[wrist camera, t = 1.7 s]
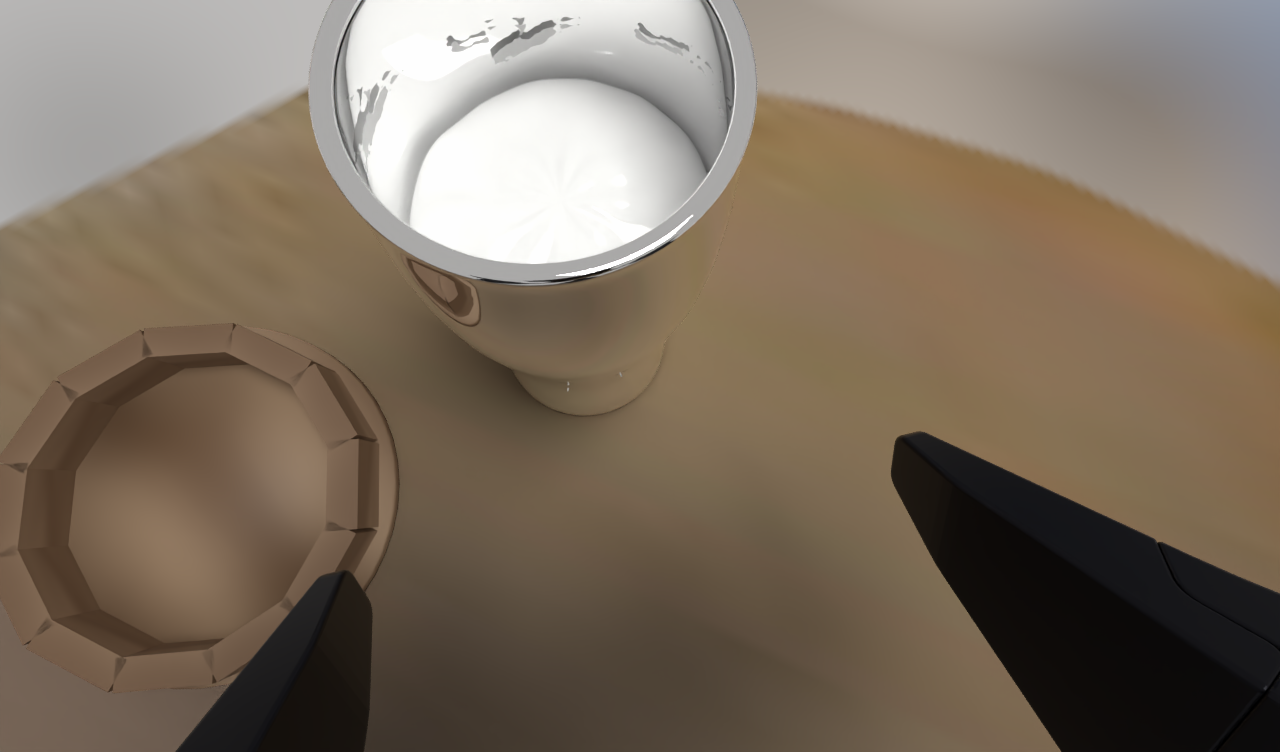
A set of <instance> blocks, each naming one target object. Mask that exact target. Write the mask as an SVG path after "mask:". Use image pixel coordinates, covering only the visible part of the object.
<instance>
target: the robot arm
mask: <svg viewBox="0 0 1280 752" xmlns="http://www.w3.org/2000/svg"><path fill="white" fill-rule="evenodd" d="M891 477H892V481H893V484H894V486H895V488H896V490H897V492H898V494H899V496H900V498H901V500H902V502H903V504H904V506H905V507H906V509H907V511H908V513H909V515H910V517H911V519H912V521H913V523H914V525H915V526H916V528H917V530H918V532H919V534H920V536H921V538H922V540H923V542H924V544H925V545H926V547H927V549H928V551H929V553H930V555H931V556H932V558H933V560H934V562H935V564H936V565H937V567H938V568H939V570H940V571H941V573H942V575H943V576H944V578H945V579H946V581H947V582H948V584H949V585H950V587H951V588H952V590H953V591H954V593H955V594H956V596H957V597H958V599H959V600H960V602H961V603H962V604H963V606H964V607H965V609H966V610H967V612H968V613H969V615H970V616H971V618H972V619H973V621H974V622H975V624H976V625H977V627H978V628H979V630H980V631H981V633H982V634H983V636H984V637H985V639H986V640H987V642H988V643H989V645H990V646H991V648H992V649H993V651H994V652H995V654H996V655H997V657H998V658H999V660H1000V661H1001V663H1002V664H1003V665H1004V667H1005V668H1006V670H1007V671H1008V673H1009V674H1010V676H1011V677H1012V679H1013V680H1014V682H1015V683H1016V685H1017V686H1018V688H1019V689H1020V691H1021V692H1022V694H1023V695H1024V697H1025V698H1026V700H1027V701H1028V703H1029V704H1030V706H1031V707H1032V709H1033V710H1034V712H1035V713H1036V715H1037V716H1038V718H1039V719H1040V721H1041V722H1042V724H1043V725H1044V726H1045V728H1046V729H1047V731H1048V732H1049V734H1050V735H1051V737H1052V738H1053V740H1054V741H1055V743H1056V744H1057V746H1058V747H1059V749H1060V750H1061V752H1280V593H1277V592H1275V591H1273V590H1270V589H1268V588H1265V587H1263V586H1260V585H1258V584H1255V583H1253V582H1251V581H1248V580H1246V579H1243V578H1241V577H1238V576H1236V575H1234V574H1232V573H1229V572H1227V571H1225V570H1223V569H1220V568H1218V567H1216V566H1214V565H1211V564H1209V563H1207V562H1205V561H1202V560H1200V559H1198V558H1196V557H1193V556H1191V555H1189V554H1187V553H1185V552H1183V551H1180V550H1178V549H1176V548H1174V547H1172V546H1170V545H1167V544H1165V543H1163V542H1158V543H1157V542H1156V540H1155V539H1154V538H1152V537H1150V536H1148V535H1145V534H1143V533H1141V532H1139V531H1137V530H1135V529H1133V528H1130V527H1128V526H1126V525H1124V524H1122V523H1120V522H1117V521H1115V520H1113V519H1111V518H1109V517H1107V516H1104V515H1102V514H1100V513H1098V512H1096V511H1094V510H1092V509H1089V508H1087V507H1085V506H1083V505H1081V504H1079V503H1076V502H1074V501H1072V500H1070V499H1068V498H1066V497H1063V496H1061V495H1059V494H1057V493H1055V492H1053V491H1051V490H1048V489H1046V488H1044V487H1042V486H1040V485H1038V484H1035V483H1033V482H1031V481H1029V480H1027V479H1025V478H1022V477H1020V476H1018V475H1016V474H1014V473H1012V472H1010V471H1007V470H1005V469H1003V468H1001V467H999V466H997V465H994V464H992V463H990V462H988V461H986V460H984V459H981V458H979V457H977V456H975V455H973V454H971V453H969V452H966V451H964V450H962V449H960V448H958V447H956V446H953V445H951V444H949V443H947V442H945V441H943V440H940V439H938V438H936V437H934V436H932V435H930V434H927V433H925V432H921V431H918V432H913V433H909V434H905V435H901V436H899V437H898V438H897V439H896V441H895V445H894V452H893V459H892V467H891ZM371 649H372V607H371V603H370V601H369V599H368V597H367V595H366V594H365V592H364V591H363V589H362V588H361V586H360V584H359V583H358V581H357V580H356V578H355V577H354V575H353V574H352V573H351V572H350V571H349V570H340V571H336V572H332V573H328V574H324V575H322V576H320V577H319V578H317V579H316V580H315V582H314V583H313V584H312V585H311V587H310V588H309V589H308V590H307V591H306V593H305V594H304V595H303V596H302V598H301V599H300V600H299V601H298V602H297V604H296V605H295V606H294V607H293V609H292V610H291V611H290V612H289V613H288V615H287V616H286V617H285V618H284V620H283V621H282V622H281V623H280V624H279V626H278V627H277V628H276V629H275V631H274V632H273V633H272V634H271V635H270V637H269V638H268V639H267V640H266V642H265V643H264V644H263V645H262V646H261V648H260V649H259V650H258V651H257V653H256V654H255V655H254V656H253V657H252V659H251V660H250V661H249V662H248V664H247V665H246V666H245V667H244V668H243V670H242V671H241V672H240V673H239V675H238V676H237V677H236V678H235V680H234V681H233V682H232V683H231V684H230V686H229V687H228V688H227V689H226V691H225V692H224V693H223V694H222V695H221V697H220V698H219V699H218V700H217V702H216V703H215V704H214V705H213V706H212V708H211V709H210V710H209V711H208V713H207V714H206V715H205V716H204V717H203V719H202V720H201V721H200V722H199V724H198V725H197V726H196V727H195V728H194V730H193V731H192V732H191V733H190V735H189V736H188V737H187V738H186V739H185V741H184V742H183V743H182V744H181V746H180V747H179V748H178V749H177V750H176V752H364V747H365V740H366V733H367V726H368V717H369V706H370V682H371Z"/></svg>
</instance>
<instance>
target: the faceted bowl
mask: <svg viewBox="0 0 1280 752" xmlns="http://www.w3.org/2000/svg"><path fill="white" fill-rule="evenodd" d="M57 378H58V380H59V381H54V380H53V381H52V383H51V384H50V386H49V387H48V388H47V390H46V391H45V393H44V394H43V396H42V397H41V398H40V400H39V401H38V403H37V404H36V405H35V407H34V408H33V410H32V411H31V413H30V414H29V415H28V417H27V418H26V420H25V421H24V422H23V424H22V425H21V427H20V428H19V430H18V431H17V432H16V434H15V435H14V437H13V438H12V440H11V441H10V442H9V444H8V445H7V447H6V448H5V449H4V451H3V452H2V454H1V455H0V462H2V463H4V464H0V599H1V601H2V603H3V605H4V607H5V609H6V611H7V614H8V616H9V618H10V620H11V622H12V624H13V626H14V628H15V630H16V632H17V634H18V637H19V639H20V641H21V643H22V645H25V644H28V646H27V648H26V649H28V650H29V651H31V652H33V653H35V654H37V655H39V656H41V657H42V658H44V659H46V660H48V661H50V662H52V663H54V664H56V665H57V666H59V667H61V668H63V669H65V670H67V671H69V672H71V673H72V674H74V675H76V676H78V677H80V678H82V679H84V680H85V681H87V682H89V683H91V684H93V685H95V686H97V687H99V688H100V689H102V690H104V691H106V692H110V691H113V693H121V692H132V691H143V690H154V689H165V688H171V689H201V688H208V687H214V686H220V685H227V684H230V683H232V682H233V681H234V680H235V678H236V677H237V676H238V675H239V673H240V672H241V671H242V670H243V668H244V667H245V666H246V665H247V664H248V662H249V661H250V660H251V659H252V657H253V656H254V655H255V654H256V653H257V651H258V650H259V649H260V648H261V646H262V645H263V644H264V643H265V642H266V640H267V639H268V638H269V637H270V635H271V634H272V633H273V632H274V631H275V629H276V628H277V627H278V626H279V624H280V623H281V622H282V621H283V620H284V618H285V617H286V616H287V615H288V613H289V612H290V611H291V610H292V609H293V607H294V606H295V605H296V604H297V602H298V601H299V600H300V599H301V598H302V596H303V595H304V594H305V593H306V591H307V590H308V589H309V588H310V587H311V585H312V584H313V583H314V582H315V580H316V579H317V578H319V577H320V576H322V575H324V574H328V573H332V572H336V571H340V570H349V571H350V572H351V573H352V574H353V575H354V577H355V578H356V580H357V581H358V583H359V584H360V586H361V588H362V589H363V591H364V592H365V590H366V589H367V587H368V585H369V584H370V582H371V581H372V579H373V577H374V576H375V574H376V572H377V570H378V568H379V566H380V564H381V561H382V559H383V557H384V555H385V553H386V550H387V547H388V544H389V541H390V538H391V535H392V532H393V529H394V524H395V518H396V513H397V508H398V496H399V471H398V460H397V455H396V450H395V445H394V440H393V437H392V435H391V432H390V429H389V426H388V423H387V420H386V418H385V416H384V415H383V413H382V411H381V409H380V407H379V405H378V403H377V401H376V400H375V398H374V397H373V396H372V394H371V393H370V391H369V390H368V389H367V387H366V386H365V385H364V384H363V382H362V381H361V380H360V379H359V378H358V377H357V376H356V375H355V374H354V373H353V372H352V371H351V370H350V369H349V368H347V367H346V366H345V365H344V364H342V363H341V362H340V361H338V360H337V359H336V358H335V357H333V356H331V355H330V354H328V353H326V352H324V351H323V350H321V349H319V348H317V347H316V346H314V345H312V344H310V343H308V342H305V341H303V340H300V339H298V338H295V337H293V336H290V335H288V334H284V333H280V332H276V331H272V330H268V329H261V328H253V327H243V326H240V325H238V324H237V325H236V324H233V323H228V324H212V325H195V326H179V327H162V328H146V329H144V331H141V330H139V331H137V332H135V333H133V334H132V335H130V336H128V337H126V338H125V339H123V340H121V341H119V342H118V343H116V344H114V345H112V346H111V347H109V348H107V349H105V350H104V351H102V352H100V353H98V354H97V355H95V356H93V357H91V358H89V359H88V360H86V361H84V362H82V363H81V364H79V365H77V366H75V367H74V368H72V369H70V370H68V371H67V372H65V373H63V374H61V375H60V376H58V377H57Z"/></svg>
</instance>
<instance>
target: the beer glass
mask: <svg viewBox="0 0 1280 752" xmlns="http://www.w3.org/2000/svg"><path fill="white" fill-rule="evenodd" d="M308 90H309V108H310V115H311V121H312V126H313V131H314V135H315V138H316V142H317V145H318V148H319V150H320V153H321V155H322V158H323V160H324V163H325V165H326V167H327V169H328V171H329V173H330V175H331V177H332V179H333V180H334V182H335V184H336V185H337V187H338V188H339V190H340V191H341V193H342V194H343V196H344V197H345V198H346V200H347V201H348V202H349V204H350V205H351V206H352V207H353V208H354V210H355V211H356V212H357V213H358V214H359V215H360V216H361V217H362V218H363V219H364V220H365V222H366V223H367V225H368V226H369V228H370V229H371V231H372V232H373V234H374V236H375V237H376V239H377V240H378V242H379V243H380V245H381V246H382V248H383V249H384V251H385V252H386V253H387V255H388V256H389V258H390V259H391V260H392V262H393V263H394V265H395V266H396V268H397V269H398V270H399V272H400V273H401V275H402V276H403V277H404V279H405V280H406V281H407V283H408V284H409V285H410V286H411V287H412V288H413V290H414V291H415V292H416V293H417V294H418V296H419V297H420V298H421V299H422V300H423V302H424V303H425V304H426V305H427V306H428V307H429V309H430V310H431V311H432V312H433V313H434V314H435V315H436V316H437V317H438V318H439V319H440V320H441V321H442V322H443V323H444V324H445V325H446V326H448V327H449V328H450V329H451V330H452V331H453V332H454V333H456V334H457V335H458V336H459V337H460V338H461V339H463V340H464V341H465V342H466V343H467V344H468V345H470V346H471V347H472V348H474V349H475V350H477V351H478V352H480V353H481V354H483V355H485V356H486V357H488V358H490V359H492V360H494V361H496V362H498V363H500V364H502V365H504V366H506V367H508V368H510V369H512V370H513V372H514V374H515V376H516V378H517V379H518V381H519V382H520V384H521V385H522V386H523V388H524V389H525V390H526V391H527V392H528V393H529V394H530V395H531V396H532V397H533V398H535V399H536V400H537V401H539V402H540V403H542V404H543V405H545V406H547V407H549V408H551V409H553V410H556V411H559V412H562V413H566V414H571V415H580V416H589V415H598V414H603V413H607V412H610V411H613V410H616V409H618V408H620V407H622V406H624V405H626V404H628V403H629V402H631V401H632V400H634V399H635V398H636V397H637V396H638V395H640V394H641V393H642V392H643V390H644V389H645V388H646V387H647V386H648V385H649V383H650V382H651V380H652V379H653V377H654V376H655V374H656V372H657V370H658V368H659V366H660V363H661V360H662V357H663V352H664V346H665V340H666V339H667V338H668V337H669V336H670V335H671V334H672V333H673V332H674V331H675V330H676V329H677V328H678V326H679V325H680V324H681V323H682V322H683V320H684V319H685V318H686V317H687V315H688V314H689V312H690V311H691V309H692V308H693V306H694V304H695V303H696V301H697V299H698V297H699V295H700V293H701V291H702V289H703V287H704V285H705V284H706V282H707V280H708V278H709V276H710V274H711V271H712V269H713V267H714V264H715V262H716V259H717V256H718V253H719V250H720V247H721V244H722V241H723V238H724V235H725V232H726V229H727V226H728V222H729V218H730V214H731V210H732V206H733V201H734V197H735V193H736V189H737V184H738V179H739V173H740V168H741V163H742V159H743V157H744V154H745V152H746V149H747V146H748V143H749V140H750V137H751V133H752V129H753V124H754V119H755V112H756V103H757V73H756V64H755V57H754V52H753V48H752V44H751V40H750V37H749V33H748V30H747V28H746V25H745V22H744V20H743V18H742V15H741V13H740V11H739V9H738V7H737V5H736V3H735V2H734V0H332V2H331V4H330V5H329V8H328V10H327V11H326V14H325V16H324V18H323V20H322V23H321V26H320V28H319V31H318V34H317V38H316V40H315V44H314V48H313V52H312V58H311V63H310V71H309V89H308Z"/></svg>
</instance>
